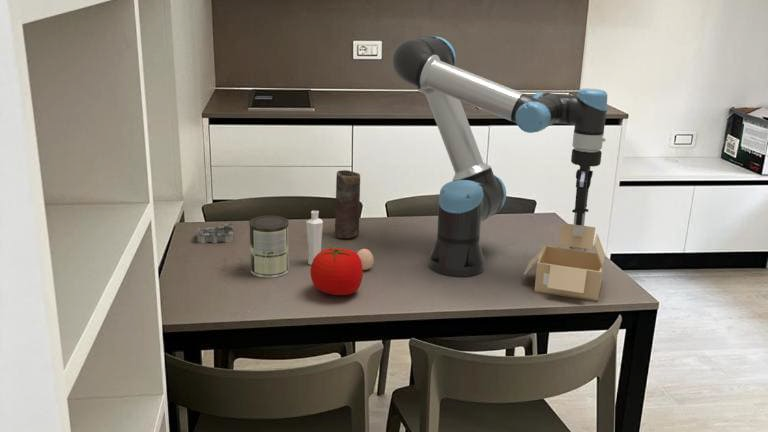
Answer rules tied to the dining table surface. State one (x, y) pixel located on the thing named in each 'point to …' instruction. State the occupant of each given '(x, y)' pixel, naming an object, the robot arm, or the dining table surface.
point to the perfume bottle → (314, 235)
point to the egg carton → (216, 234)
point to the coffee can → (269, 246)
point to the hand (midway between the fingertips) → (577, 235)
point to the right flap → (599, 249)
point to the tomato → (337, 271)
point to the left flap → (533, 261)
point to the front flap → (567, 278)
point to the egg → (366, 258)
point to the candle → (347, 204)
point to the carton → (573, 260)
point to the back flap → (576, 237)
